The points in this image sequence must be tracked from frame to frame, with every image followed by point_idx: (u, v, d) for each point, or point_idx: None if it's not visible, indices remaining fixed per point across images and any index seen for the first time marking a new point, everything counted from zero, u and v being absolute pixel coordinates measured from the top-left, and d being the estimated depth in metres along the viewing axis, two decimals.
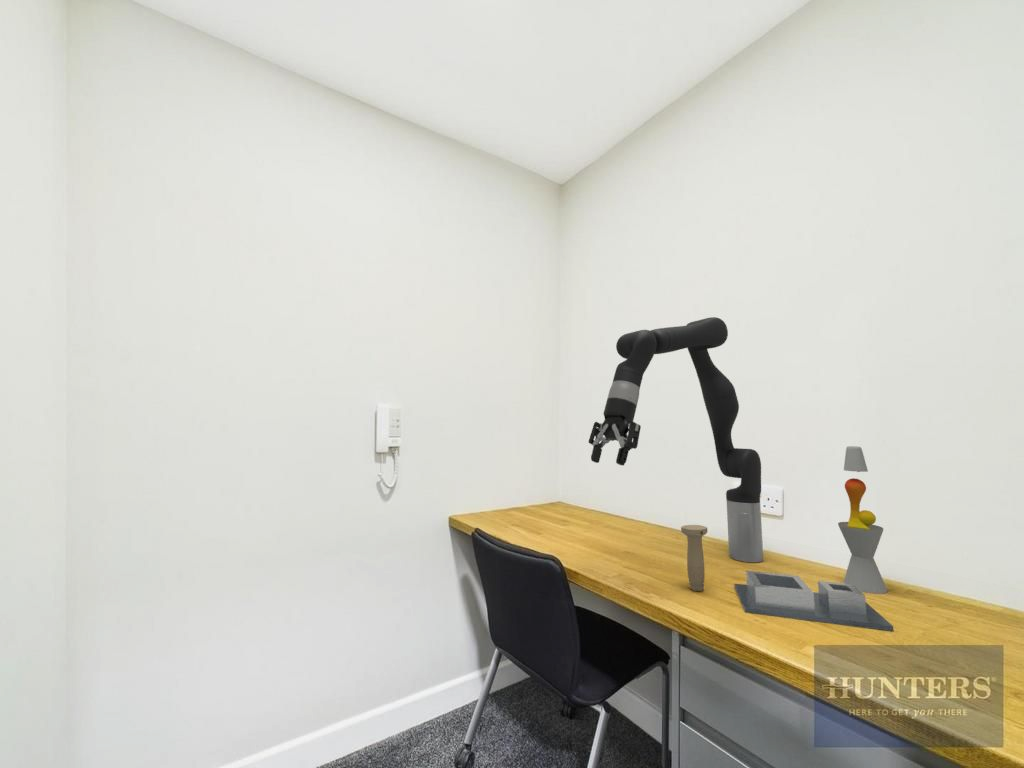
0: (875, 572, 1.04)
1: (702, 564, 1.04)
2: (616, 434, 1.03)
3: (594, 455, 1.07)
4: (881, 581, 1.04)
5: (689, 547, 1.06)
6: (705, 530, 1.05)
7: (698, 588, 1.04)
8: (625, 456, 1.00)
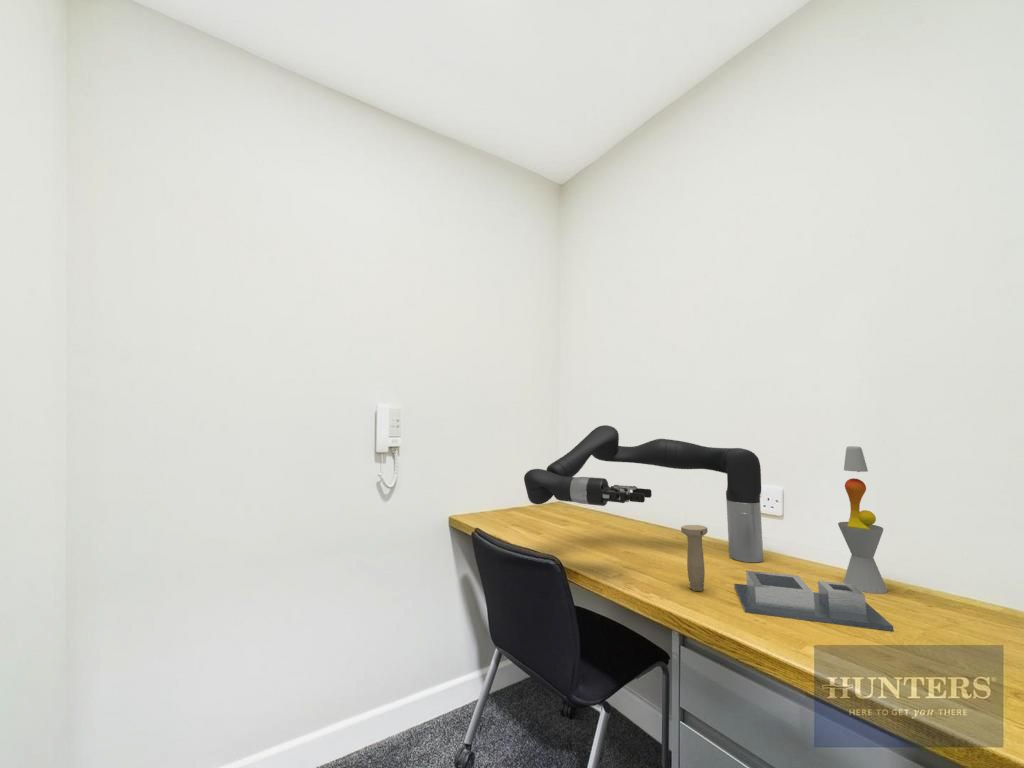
0: (875, 572, 1.04)
1: (702, 564, 1.04)
2: (624, 486, 1.18)
3: None
4: (881, 581, 1.04)
5: (689, 547, 1.06)
6: (705, 530, 1.05)
7: (698, 588, 1.04)
8: None
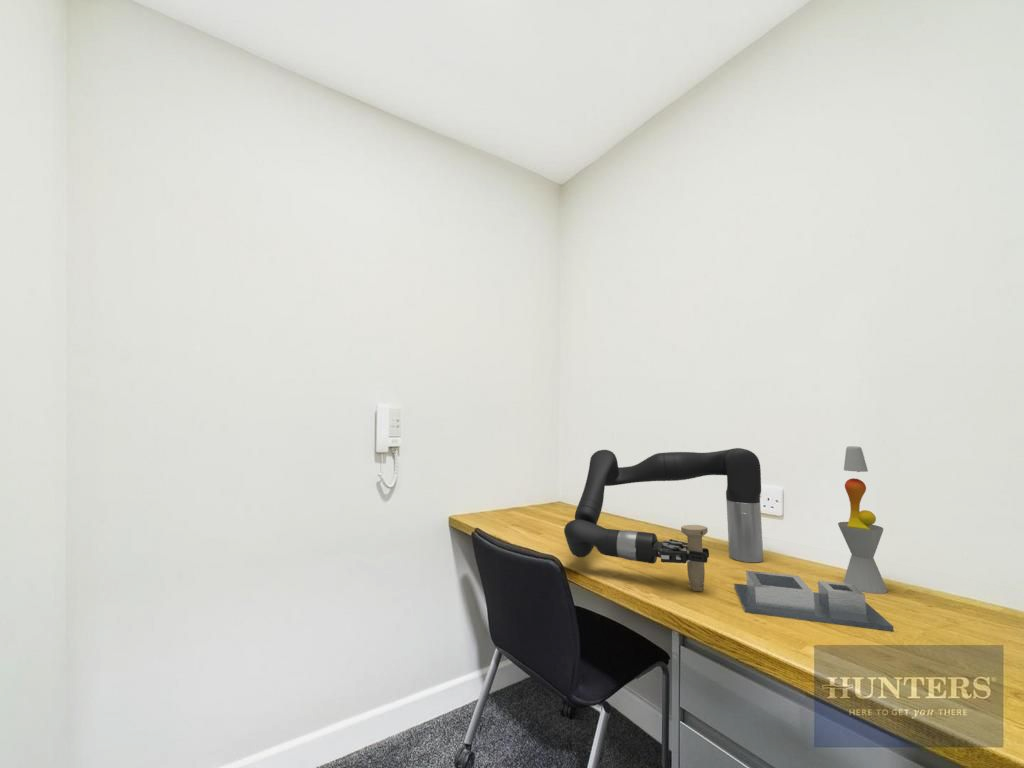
0: (875, 572, 1.04)
1: (702, 564, 1.04)
2: (676, 543, 1.10)
3: None
4: (881, 581, 1.04)
5: (689, 547, 1.06)
6: (705, 530, 1.05)
7: (698, 588, 1.04)
8: None
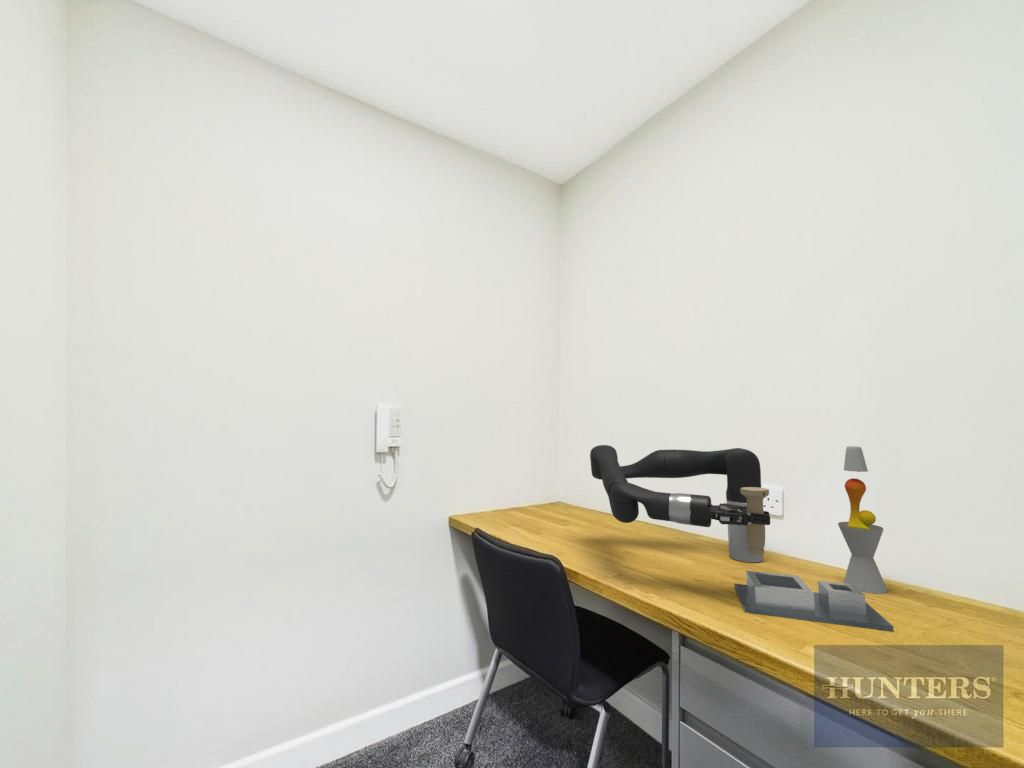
0: (875, 572, 1.04)
1: (763, 527, 0.98)
2: (733, 506, 1.04)
3: None
4: (881, 581, 1.04)
5: (749, 509, 1.00)
6: (767, 492, 0.99)
7: (759, 552, 0.98)
8: None
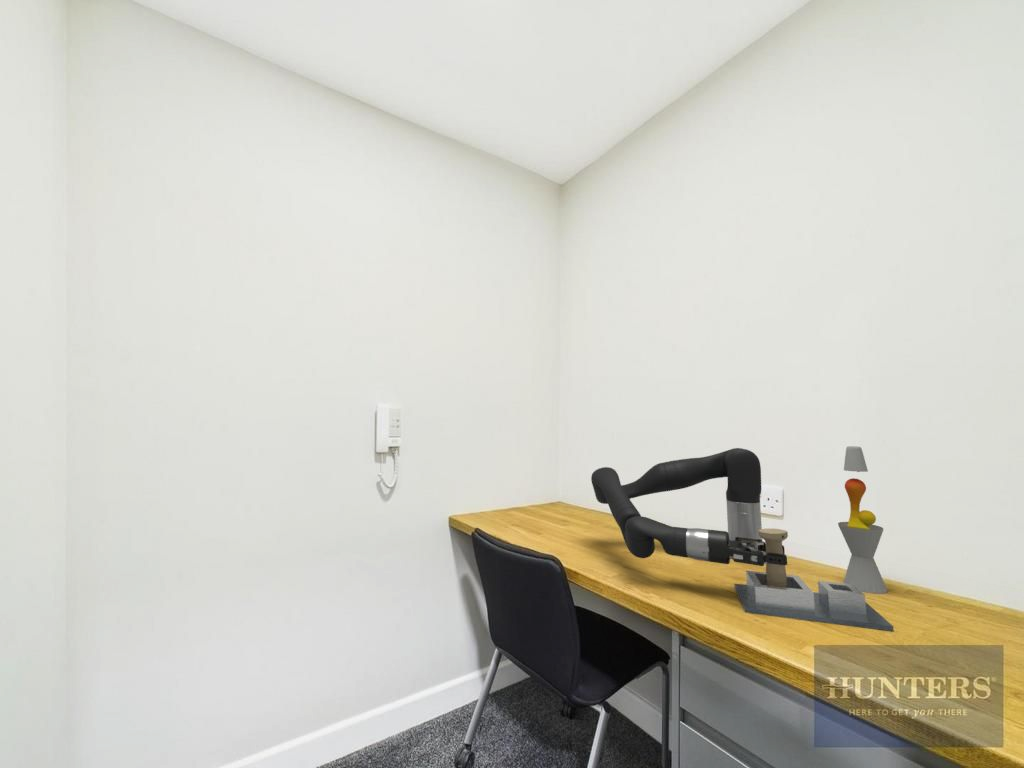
0: (875, 572, 1.04)
1: (784, 571, 0.96)
2: (750, 540, 1.03)
3: None
4: (881, 581, 1.04)
5: None
6: (786, 534, 0.97)
7: None
8: None
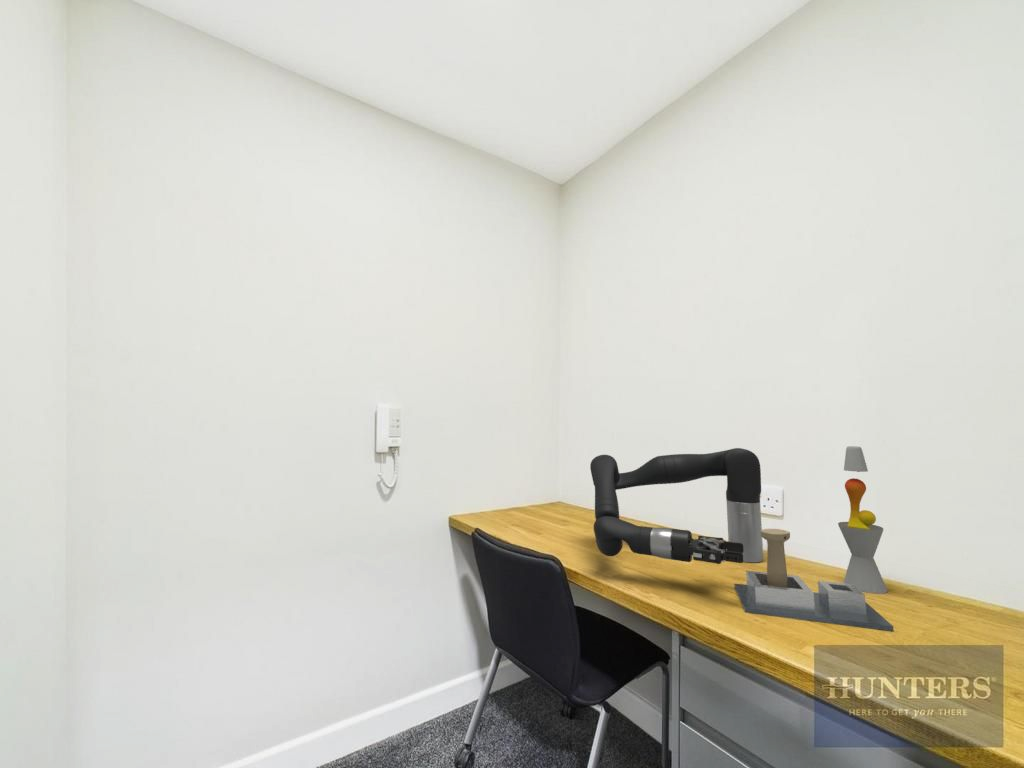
0: (875, 572, 1.04)
1: (785, 572, 0.96)
2: (711, 539, 1.07)
3: None
4: (881, 581, 1.04)
5: (770, 553, 0.97)
6: (788, 535, 0.97)
7: None
8: None
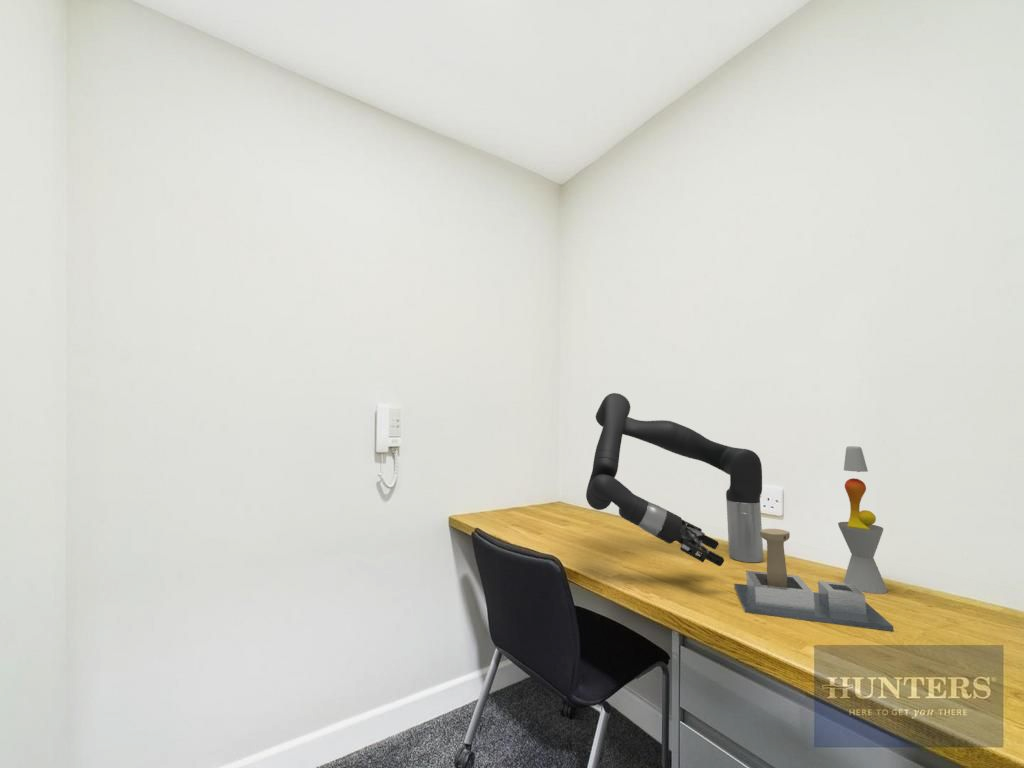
0: (875, 572, 1.04)
1: (785, 572, 0.96)
2: (695, 530, 1.12)
3: None
4: (881, 581, 1.04)
5: (770, 553, 0.97)
6: (788, 535, 0.97)
7: None
8: None
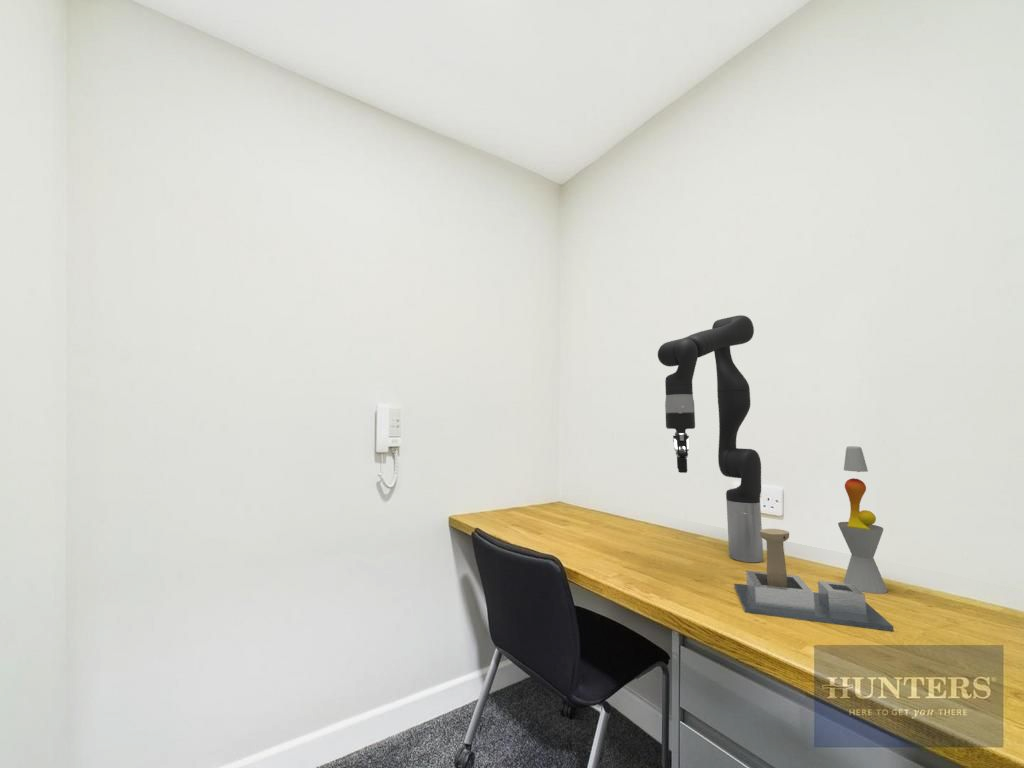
0: (875, 572, 1.04)
1: (785, 572, 0.96)
2: None
3: None
4: (881, 581, 1.04)
5: (770, 553, 0.97)
6: (787, 535, 0.97)
7: None
8: None
